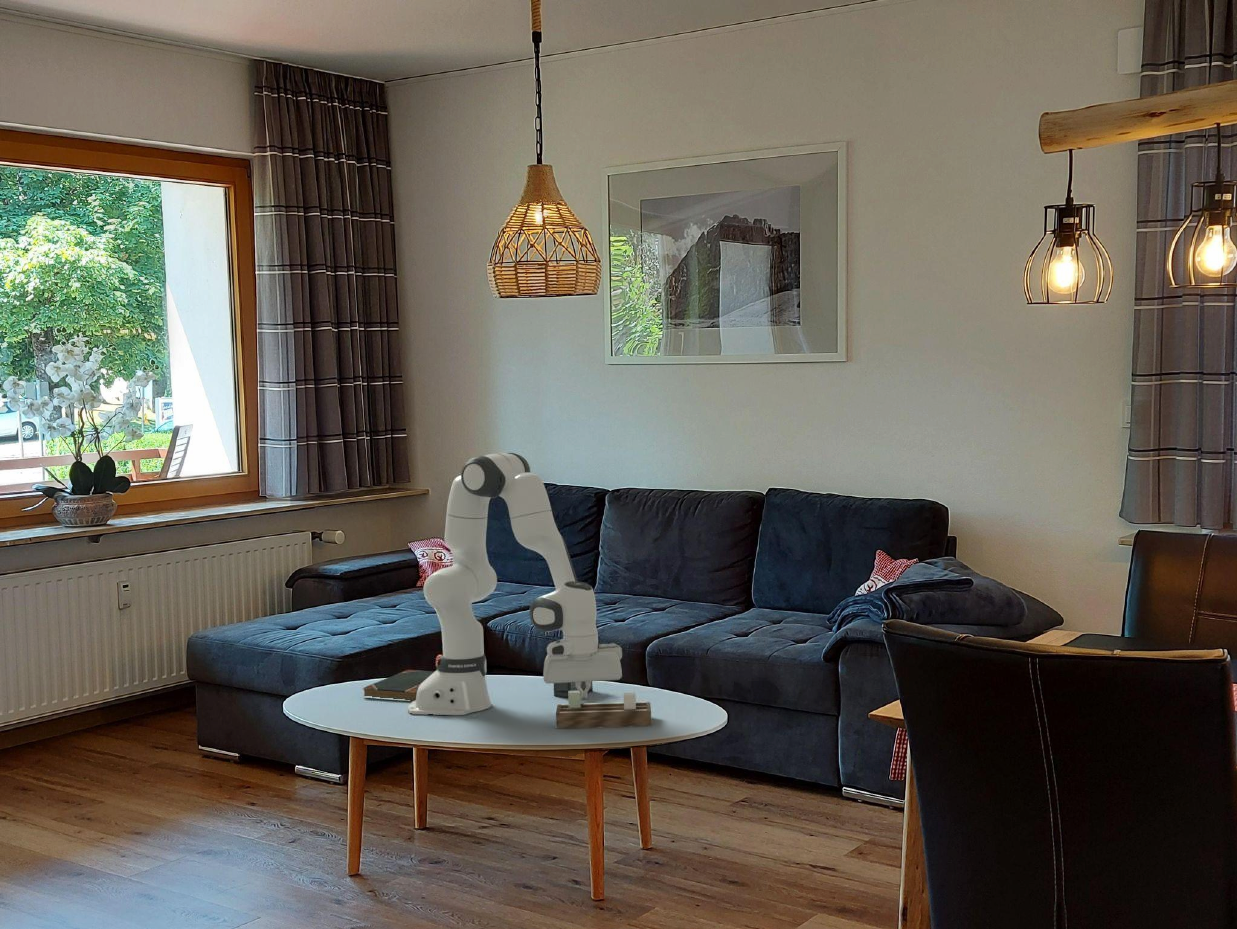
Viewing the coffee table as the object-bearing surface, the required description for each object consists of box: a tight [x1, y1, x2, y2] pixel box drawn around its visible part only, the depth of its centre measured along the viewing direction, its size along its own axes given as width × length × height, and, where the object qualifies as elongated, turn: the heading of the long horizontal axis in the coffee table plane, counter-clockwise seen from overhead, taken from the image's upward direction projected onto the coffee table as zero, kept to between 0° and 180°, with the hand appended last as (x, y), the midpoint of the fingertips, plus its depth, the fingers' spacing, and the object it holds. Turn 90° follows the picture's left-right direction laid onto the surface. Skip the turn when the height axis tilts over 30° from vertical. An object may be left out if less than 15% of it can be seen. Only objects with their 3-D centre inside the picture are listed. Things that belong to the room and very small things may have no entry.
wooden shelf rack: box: [555, 701, 652, 730], centre depth 324 cm, size 24×9×4 cm, turn 90°
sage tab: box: [567, 691, 582, 708], centre depth 325 cm, size 3×2×6 cm
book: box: [362, 669, 435, 701], centre depth 367 cm, size 17×4×25 cm
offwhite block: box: [623, 692, 637, 710], centre depth 321 cm, size 3×2×6 cm
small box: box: [553, 681, 594, 699], centre depth 356 cm, size 11×6×10 cm, turn 144°
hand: (583, 698), depth 325 cm, fingers closed
